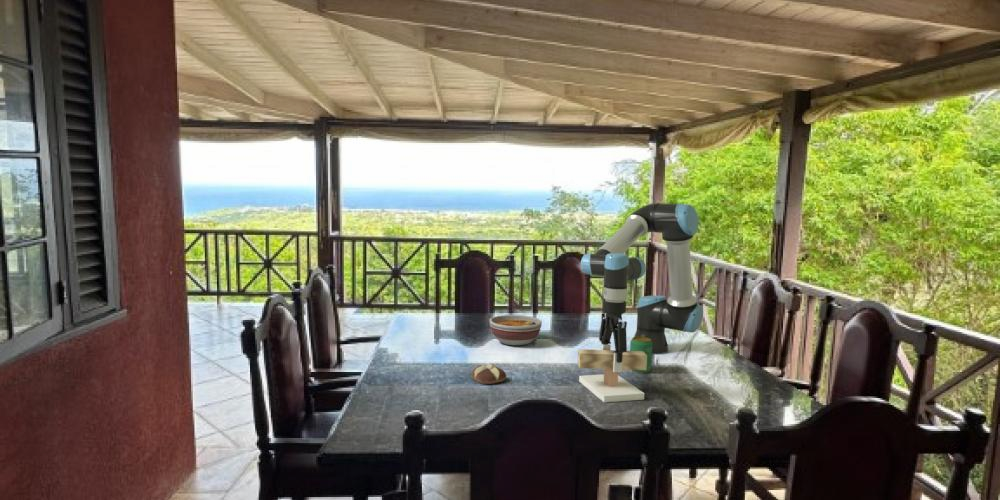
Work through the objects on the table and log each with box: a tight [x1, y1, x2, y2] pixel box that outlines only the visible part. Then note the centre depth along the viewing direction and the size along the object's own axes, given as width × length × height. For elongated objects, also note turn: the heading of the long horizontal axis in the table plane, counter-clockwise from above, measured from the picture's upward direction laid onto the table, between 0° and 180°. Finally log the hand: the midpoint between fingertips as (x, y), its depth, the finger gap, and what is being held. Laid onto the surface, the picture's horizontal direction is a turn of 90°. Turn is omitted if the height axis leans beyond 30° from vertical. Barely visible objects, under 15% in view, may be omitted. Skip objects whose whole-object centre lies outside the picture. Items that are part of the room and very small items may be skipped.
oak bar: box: [577, 348, 647, 371], centre depth 183 cm, size 22×5×5 cm, turn 89°
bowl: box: [489, 314, 543, 346], centre depth 240 cm, size 23×23×10 cm
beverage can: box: [629, 336, 653, 374], centre depth 206 cm, size 8×8×12 cm
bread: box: [471, 363, 507, 385], centre depth 190 cm, size 11×11×5 cm
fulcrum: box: [578, 369, 645, 403], centre depth 183 cm, size 14×20×8 cm
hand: (611, 367), depth 183 cm, fingers open, 8 cm apart
